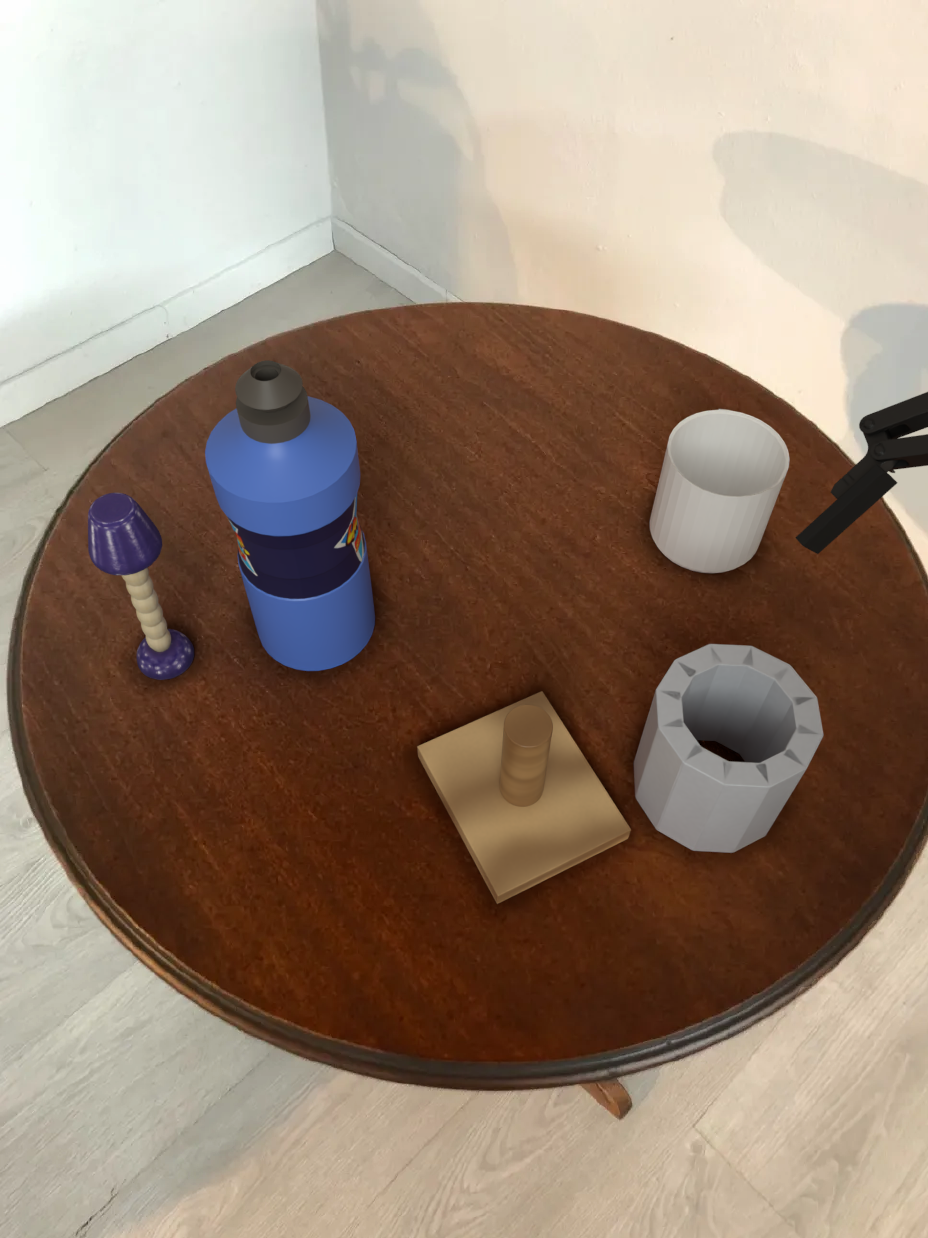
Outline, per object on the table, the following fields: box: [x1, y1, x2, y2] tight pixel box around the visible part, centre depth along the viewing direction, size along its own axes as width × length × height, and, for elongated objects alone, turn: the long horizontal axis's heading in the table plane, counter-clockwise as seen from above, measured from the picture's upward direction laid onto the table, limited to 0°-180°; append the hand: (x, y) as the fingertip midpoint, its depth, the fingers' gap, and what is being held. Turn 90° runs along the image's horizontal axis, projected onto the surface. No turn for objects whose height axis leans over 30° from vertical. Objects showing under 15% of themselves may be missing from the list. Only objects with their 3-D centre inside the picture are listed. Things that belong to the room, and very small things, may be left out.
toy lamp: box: [87, 492, 195, 681], centre depth 70 cm, size 5×5×17 cm
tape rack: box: [416, 691, 632, 905], centre depth 66 cm, size 12×10×10 cm
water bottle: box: [204, 359, 376, 672], centre depth 68 cm, size 9×9×25 cm
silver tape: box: [633, 643, 824, 854], centre depth 66 cm, size 10×10×10 cm
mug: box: [649, 408, 790, 574], centre depth 81 cm, size 12×9×9 cm
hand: (875, 623), depth 62 cm, fingers open, 13 cm apart
